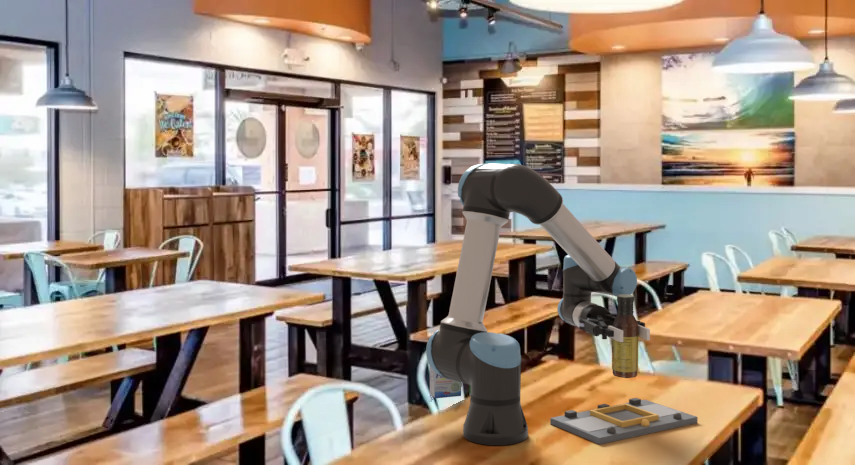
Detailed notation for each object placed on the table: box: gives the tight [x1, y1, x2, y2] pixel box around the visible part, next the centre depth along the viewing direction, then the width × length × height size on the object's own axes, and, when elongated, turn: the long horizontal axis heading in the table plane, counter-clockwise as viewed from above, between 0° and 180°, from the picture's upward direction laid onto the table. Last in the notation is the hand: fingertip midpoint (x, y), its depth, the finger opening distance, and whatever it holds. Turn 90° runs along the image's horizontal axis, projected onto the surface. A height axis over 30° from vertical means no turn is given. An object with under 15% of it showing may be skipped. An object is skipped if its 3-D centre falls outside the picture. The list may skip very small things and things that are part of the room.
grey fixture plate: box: [549, 397, 698, 445], centre depth 216 cm, size 31×18×3 cm, turn 120°
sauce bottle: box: [611, 294, 639, 379], centre depth 214 cm, size 7×6×20 cm
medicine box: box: [429, 366, 462, 399], centre depth 242 cm, size 8×4×9 cm, turn 105°
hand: (635, 335), depth 209 cm, fingers closed on sauce bottle, 6 cm apart
